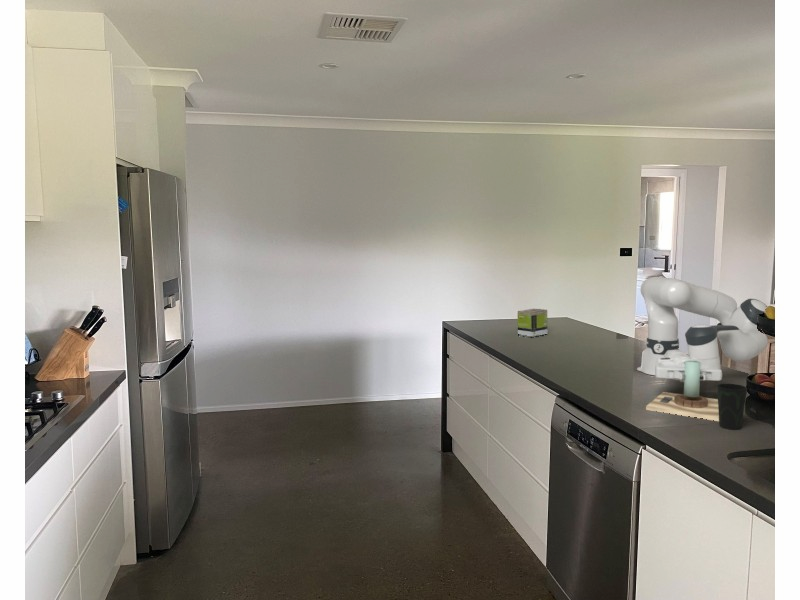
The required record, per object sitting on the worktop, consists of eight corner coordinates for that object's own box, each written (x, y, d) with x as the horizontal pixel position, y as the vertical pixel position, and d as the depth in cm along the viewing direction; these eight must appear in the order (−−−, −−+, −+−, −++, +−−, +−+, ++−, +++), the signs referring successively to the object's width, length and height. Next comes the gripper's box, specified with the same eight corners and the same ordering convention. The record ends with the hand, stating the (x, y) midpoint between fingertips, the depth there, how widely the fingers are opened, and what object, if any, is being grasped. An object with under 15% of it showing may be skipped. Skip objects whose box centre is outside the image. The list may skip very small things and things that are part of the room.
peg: (682, 393, 196) (683, 360, 195) (696, 393, 195) (698, 360, 194) (685, 396, 191) (687, 363, 190) (700, 397, 190) (702, 363, 189)
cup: (748, 426, 174) (750, 386, 173) (741, 432, 168) (743, 391, 167) (719, 421, 179) (721, 382, 178) (711, 426, 174) (713, 386, 173)
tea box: (533, 333, 344) (533, 308, 343) (547, 335, 337) (548, 309, 335) (516, 336, 335) (517, 310, 333) (531, 338, 327) (531, 311, 325)
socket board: (663, 395, 209) (663, 386, 209) (734, 405, 196) (734, 395, 195) (646, 409, 191) (646, 400, 191) (722, 422, 178) (723, 411, 178)
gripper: (715, 378, 203) (727, 389, 190) (651, 376, 208) (658, 385, 194) (716, 360, 202) (728, 369, 189) (652, 358, 207) (659, 366, 194)
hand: (692, 377), depth 192 cm, fingers closed on peg, 4 cm apart
